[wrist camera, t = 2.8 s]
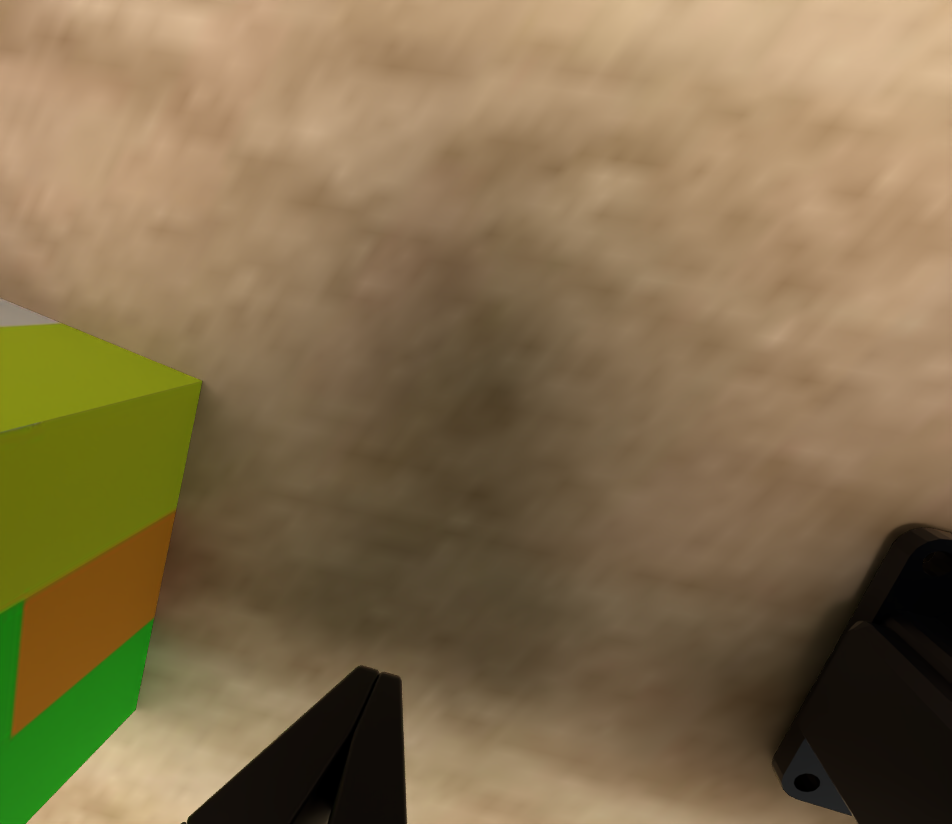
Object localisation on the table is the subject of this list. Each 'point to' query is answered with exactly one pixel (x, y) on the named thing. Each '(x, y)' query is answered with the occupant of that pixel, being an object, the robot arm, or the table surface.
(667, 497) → the table surface
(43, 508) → the puzzle toy
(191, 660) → the table surface
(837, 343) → the table surface
